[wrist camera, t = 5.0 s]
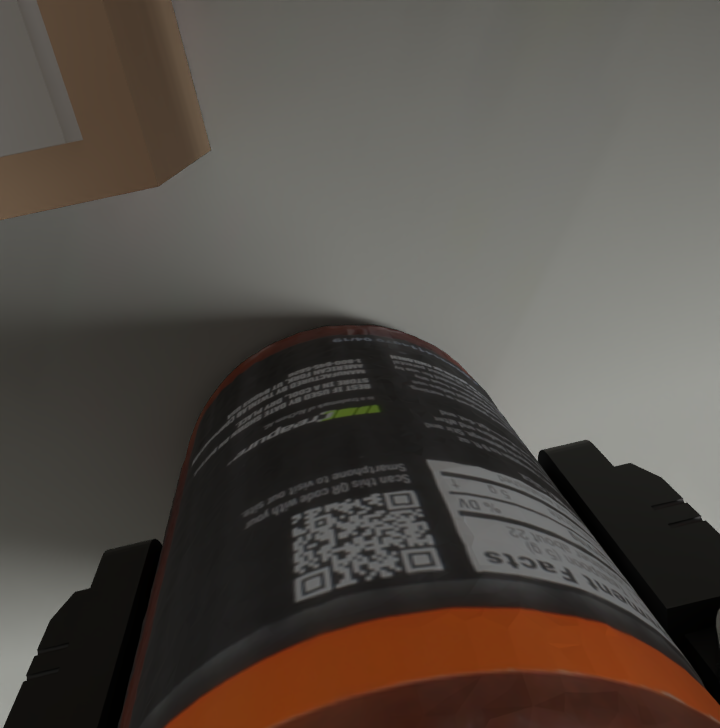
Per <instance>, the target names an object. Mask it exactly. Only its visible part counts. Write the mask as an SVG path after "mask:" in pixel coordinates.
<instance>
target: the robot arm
mask: <svg viewBox="0 0 720 728" xmlns="http://www.w3.org/2000/svg"><path fill="white" fill-rule="evenodd" d="M538 463H539V464H540V465H541V467H542V468H543V470H544V471H545V472H546V474H547V475H548V477H549V478H550V479H551V481H552V482H553V483H554V484H555V486H556V487H557V489H558V490H559V491H560V493H561V494H562V496H563V497H564V498H565V499H566V500H567V502H568V503H569V504H570V506H571V507H572V508H573V509H574V511H575V512H576V513H577V515H578V516H579V517H580V519H581V520H582V521H583V523H584V524H585V525H586V527H587V528H588V530H589V531H590V532H591V534H592V535H593V536H594V538H595V539H596V540H597V542H598V543H599V544H600V546H601V547H602V548H603V550H604V551H605V552H606V554H607V555H608V556H609V558H610V559H611V560H612V562H613V563H614V564H615V565H616V567H617V568H618V569H619V571H620V572H621V573H622V575H623V576H624V577H625V578H626V580H627V581H628V582H629V584H630V585H631V586H632V587H633V589H634V590H635V592H636V593H637V594H638V596H639V597H640V598H641V600H642V601H643V602H644V604H645V605H646V606H647V608H648V609H649V611H650V612H651V613H652V614H653V616H654V617H655V618H656V620H657V621H658V622H659V624H660V625H661V626H662V628H663V629H664V630H665V632H666V633H667V634H668V636H669V637H670V638H671V640H672V641H673V642H674V643H675V645H676V646H677V647H678V649H679V650H680V651H681V653H682V654H683V655H684V656H685V658H686V659H687V660H688V662H689V663H690V664H691V666H692V667H693V669H694V670H695V671H696V673H697V674H698V676H699V677H700V679H701V680H702V682H703V685H704V687H705V688H706V690H707V691H708V692H709V693H710V695H711V696H712V697H713V698H714V699H715V700H716V701H717V703H718V704H719V705H720V534H719V533H718V532H717V531H716V530H715V529H714V528H713V527H712V526H711V525H710V524H709V523H708V522H707V521H703V520H702V518H701V515H699V514H698V513H697V512H696V511H695V510H694V509H693V508H692V507H691V506H690V505H689V504H688V503H684V501H683V498H682V497H681V496H680V495H679V494H678V493H677V492H676V491H675V490H674V489H673V488H672V487H671V486H670V485H669V484H668V483H667V482H666V481H665V480H663V479H662V478H661V477H659V476H657V475H655V474H653V473H651V472H648V471H646V470H644V469H642V468H640V467H638V466H636V465H634V464H631V463H628V464H624V465H619V466H615V467H614V466H613V465H612V464H611V463H610V462H609V461H608V460H607V459H606V458H605V456H604V455H603V454H602V453H601V452H600V451H599V450H598V449H597V448H596V447H595V446H594V445H593V444H592V443H591V442H590V441H588V440H583V441H579V442H574V443H570V444H566V445H561V446H557V447H553V448H549V449H544V450H541V451H540V452H539V455H538ZM161 550H162V544H161V543H160V542H159V541H158V540H157V539H152V540H148V541H144V542H139V543H135V544H131V545H127V546H122V547H118V548H114V549H109V550H107V551H105V553H104V554H103V556H102V558H101V561H100V564H99V566H98V569H97V572H96V574H95V577H94V579H93V582H92V585H91V587H90V588H89V589H85V590H81V591H77V592H75V593H74V594H73V595H72V596H71V597H70V598H69V599H68V601H67V602H66V603H65V604H64V605H63V606H62V607H61V609H60V610H59V611H58V612H57V613H56V614H55V615H54V616H53V618H52V619H51V620H50V622H49V624H48V626H47V629H46V631H45V633H44V636H43V638H42V640H41V642H40V645H39V647H38V649H37V651H38V655H37V656H34V658H33V661H32V663H31V665H30V668H29V670H28V672H27V674H26V676H27V681H24V682H23V684H22V686H21V688H20V690H19V693H18V695H17V697H16V700H15V702H14V704H13V706H12V709H11V711H10V713H9V716H8V718H7V720H6V722H5V725H4V727H3V728H118V723H119V720H120V717H121V713H122V710H123V706H124V701H125V696H126V692H127V687H128V683H129V679H130V675H131V672H132V668H133V663H134V658H135V655H136V651H137V647H138V643H139V639H140V635H141V630H142V623H143V620H144V617H145V614H146V611H147V608H148V603H149V599H150V594H151V589H152V586H153V582H154V578H155V575H156V571H157V566H158V562H159V558H160V554H161Z"/></svg>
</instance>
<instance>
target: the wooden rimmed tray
mask: <svg viewBox="0 0 720 728" xmlns="http://www.w3.org/2000/svg"><path fill="white" fill-rule="evenodd" d="M210 150H211V148H210V144H209V141H208V137H207V133H206V129H205V126H204V122H203V118H202V115H201V111H200V107H199V103H198V100H197V96H196V92H195V88H194V85H193V81H192V77H191V73H190V70H189V66H188V62H187V58H186V55H185V51H184V47H183V43H182V40H181V36H180V32H179V28H178V25H177V21H176V17H175V13H174V10H173V6H172V2H171V0H0V220H3V219H8V218H13V217H17V216H22V215H27V214H32V213H36V212H41V211H46V210H50V209H55V208H60V207H64V206H69V205H74V204H79V203H83V202H88V201H93V200H97V199H102V198H107V197H111V196H116V195H121V194H126V193H130V192H135V191H140V190H144V189H149V188H154V187H158V186H160V185H161V184H163V183H164V182H166V181H167V180H169V179H170V178H171V177H173V176H174V175H176V174H177V173H179V172H180V171H182V170H183V169H184V168H186V167H187V166H189V165H190V164H192V163H193V162H195V161H196V160H197V159H199V158H200V157H202V156H203V155H205V154H206V153H207V152H209V151H210Z"/></svg>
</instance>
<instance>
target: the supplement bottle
mask: <svg viewBox="0 0 720 728" xmlns="http://www.w3.org/2000/svg"><path fill="white" fill-rule="evenodd" d="M118 728H720V705H719V704H718V703H717V701H716V700H715V699H714V698H713V697H712V696H711V695H710V693H709V692H708V691H707V690H706V688H705V687H704V685H703V682H702V680H701V679H700V677H699V676H698V674H697V673H696V671H695V670H694V669H693V667H692V666H691V664H690V663H689V662H688V660H687V659H686V658H685V656H684V655H683V654H682V653H681V651H680V650H679V649H678V647H677V646H676V645H675V643H674V642H673V641H672V640H671V638H670V637H669V636H668V634H667V633H666V632H665V630H664V629H663V628H662V626H661V625H660V624H659V622H658V621H657V620H656V618H655V617H654V616H653V614H652V613H651V612H650V611H649V609H648V608H647V606H646V605H645V604H644V602H643V601H642V600H641V598H640V597H639V596H638V594H637V593H636V592H635V590H634V589H633V587H632V586H631V585H630V584H629V582H628V581H627V580H626V578H625V577H624V576H623V575H622V573H621V572H620V571H619V569H618V568H617V567H616V565H615V564H614V563H613V562H612V560H611V559H610V558H609V556H608V555H607V554H606V552H605V551H604V550H603V548H602V547H601V546H600V544H599V543H598V542H597V540H596V539H595V538H594V536H593V535H592V534H591V532H590V531H589V530H588V528H587V527H586V525H585V524H584V523H583V521H582V520H581V519H580V517H579V516H578V515H577V513H576V512H575V511H574V509H573V508H572V507H571V506H570V504H569V503H568V502H567V500H566V499H565V498H564V497H563V496H562V494H561V493H560V491H559V490H558V489H557V487H556V486H555V484H554V483H553V482H552V481H551V479H550V478H549V477H548V475H547V474H546V472H545V471H544V470H543V468H542V467H541V465H540V464H539V463H538V461H537V460H536V459H535V457H534V456H533V455H532V454H531V452H530V451H529V450H528V448H527V447H526V446H525V444H524V443H523V442H522V440H521V439H520V438H519V436H518V435H517V434H516V432H515V431H514V430H513V428H512V427H511V426H510V424H509V423H508V422H507V420H506V419H505V417H504V416H503V415H502V414H501V413H500V411H499V410H498V409H497V407H496V406H495V404H494V402H493V401H492V399H491V398H490V397H489V395H488V394H487V393H486V391H485V390H484V389H483V388H482V387H481V386H480V385H479V384H478V383H477V382H476V381H475V380H474V379H473V378H472V377H471V376H470V375H469V374H468V373H467V372H466V371H465V369H463V368H462V367H461V365H460V364H459V363H457V362H456V361H455V360H453V359H452V358H451V357H450V356H449V355H448V354H446V353H445V352H443V351H442V350H440V349H439V348H437V347H435V346H434V345H432V344H430V343H428V342H425V341H423V340H421V339H419V338H417V337H415V336H412V335H409V334H406V333H404V332H401V331H398V330H394V329H390V328H385V327H381V326H376V325H361V326H357V325H341V326H325V327H320V328H317V329H312V330H308V331H304V332H299V333H297V334H295V335H293V336H290V337H287V338H285V339H282V340H280V341H277V342H275V343H273V344H271V345H269V346H267V347H265V348H263V349H262V350H260V351H259V352H258V353H257V354H254V355H252V356H251V357H249V358H248V359H247V360H245V361H244V362H242V363H241V364H240V365H239V366H238V367H237V368H236V369H234V370H233V371H232V372H231V373H230V374H229V375H228V377H227V378H226V379H225V380H224V381H223V382H222V383H221V384H220V386H219V387H218V388H217V390H216V391H215V392H214V394H213V395H212V396H211V398H210V399H209V401H208V402H207V404H206V405H205V407H204V409H203V411H202V413H201V414H200V416H199V418H198V420H197V423H196V425H195V428H194V430H193V433H192V436H191V439H190V442H189V446H188V450H187V454H186V458H185V461H184V463H183V466H182V468H181V471H180V476H179V480H178V484H177V489H176V492H175V496H174V499H173V504H172V508H171V512H170V516H169V520H168V524H167V528H166V532H165V536H164V542H163V546H162V550H161V554H160V558H159V562H158V566H157V571H156V575H155V578H154V582H153V586H152V589H151V594H150V599H149V603H148V608H147V611H146V614H145V617H144V620H143V623H142V630H141V635H140V639H139V643H138V647H137V651H136V655H135V658H134V663H133V668H132V672H131V675H130V679H129V683H128V687H127V692H126V696H125V701H124V706H123V710H122V713H121V717H120V720H119V723H118Z"/></svg>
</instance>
